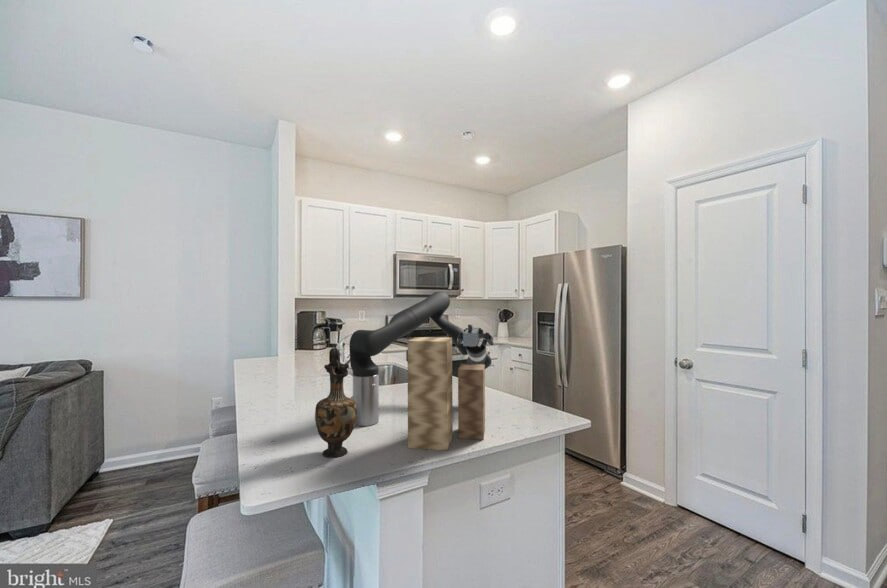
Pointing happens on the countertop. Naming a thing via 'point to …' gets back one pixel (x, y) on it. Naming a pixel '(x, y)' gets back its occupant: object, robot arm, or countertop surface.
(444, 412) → the oak block
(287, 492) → the countertop surface
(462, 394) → the walnut block
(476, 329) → the tin
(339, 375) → the vase
